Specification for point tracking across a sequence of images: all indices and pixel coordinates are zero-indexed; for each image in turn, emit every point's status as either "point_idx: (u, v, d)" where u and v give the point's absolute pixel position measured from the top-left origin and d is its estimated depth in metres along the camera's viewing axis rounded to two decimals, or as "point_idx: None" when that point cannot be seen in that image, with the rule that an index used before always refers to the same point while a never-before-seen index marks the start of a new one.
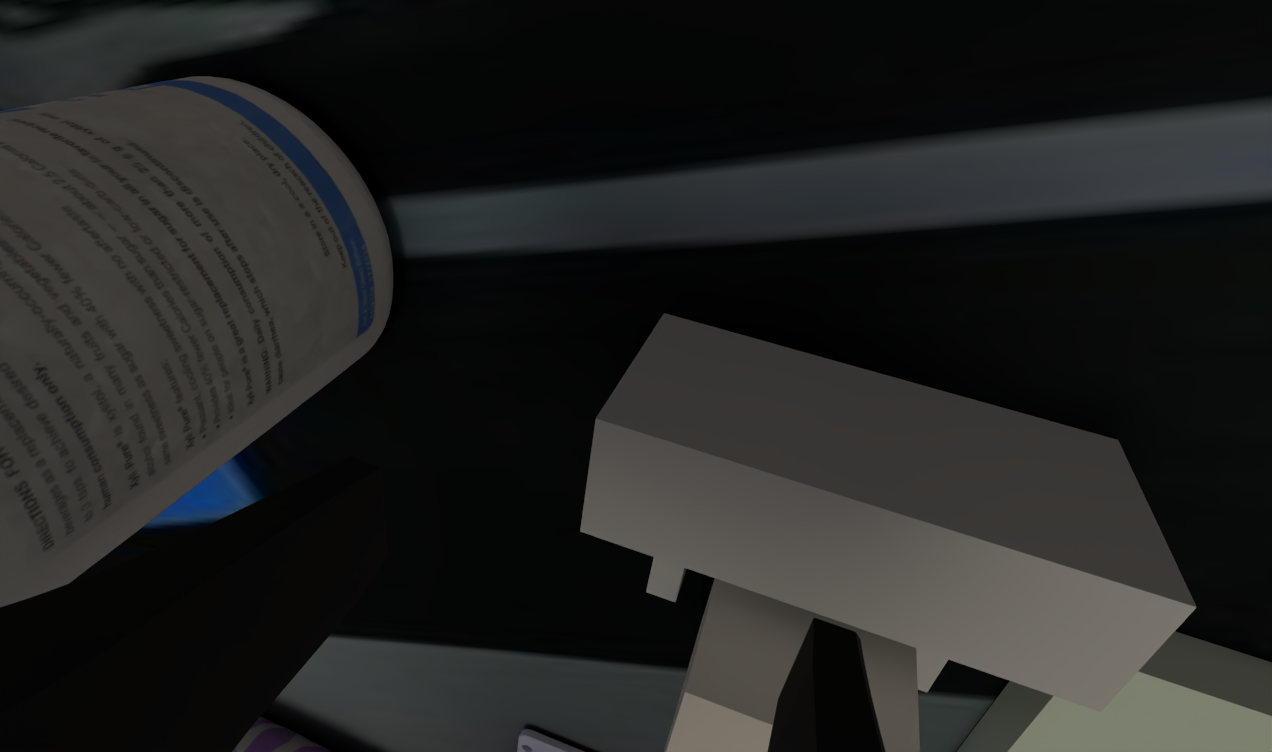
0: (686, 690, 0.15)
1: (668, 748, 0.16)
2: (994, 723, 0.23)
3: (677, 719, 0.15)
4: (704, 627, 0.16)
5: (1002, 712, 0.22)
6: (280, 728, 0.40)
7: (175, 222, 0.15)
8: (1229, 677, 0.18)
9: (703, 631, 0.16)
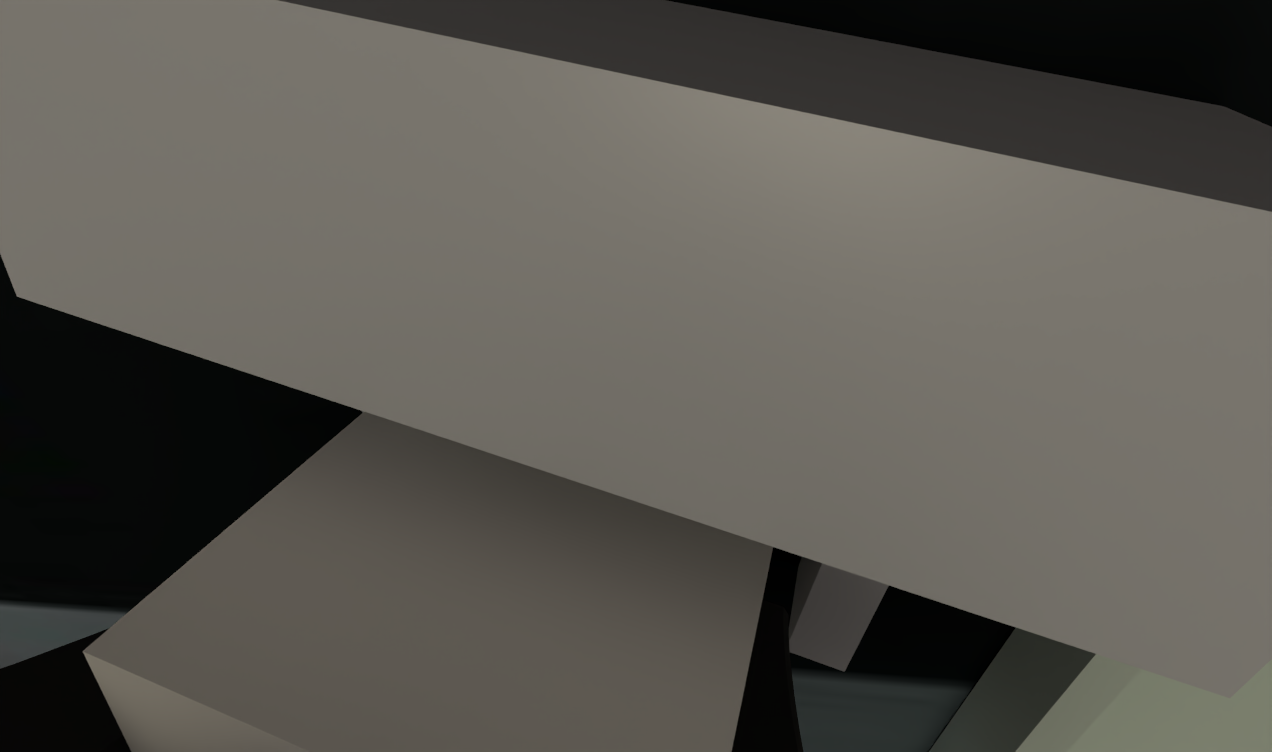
0: (90, 647, 0.05)
1: None
2: (971, 727, 0.13)
3: (123, 726, 0.06)
4: (255, 506, 0.07)
5: (983, 709, 0.13)
6: None
7: None
8: None
9: (246, 513, 0.07)
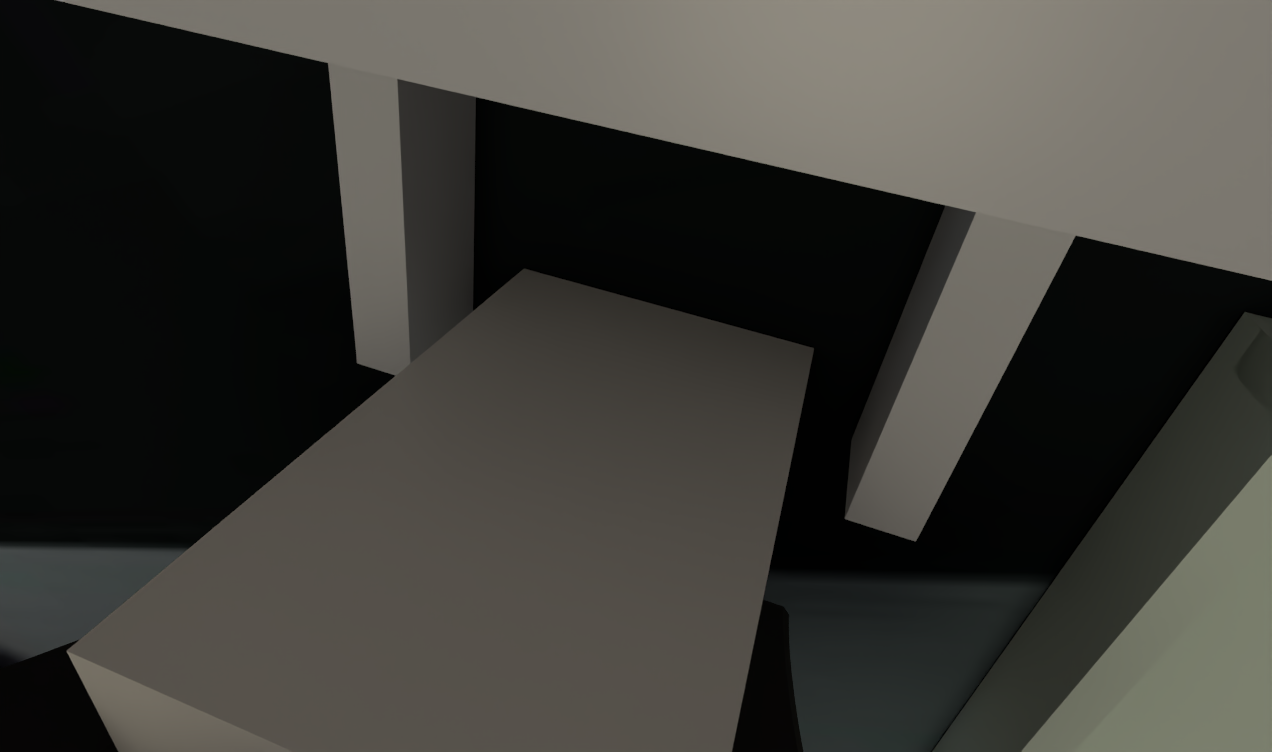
0: (74, 647, 0.05)
1: None
2: (1052, 624, 0.11)
3: (110, 728, 0.06)
4: (246, 502, 0.07)
5: (1069, 600, 0.11)
6: None
7: None
8: None
9: (237, 510, 0.07)
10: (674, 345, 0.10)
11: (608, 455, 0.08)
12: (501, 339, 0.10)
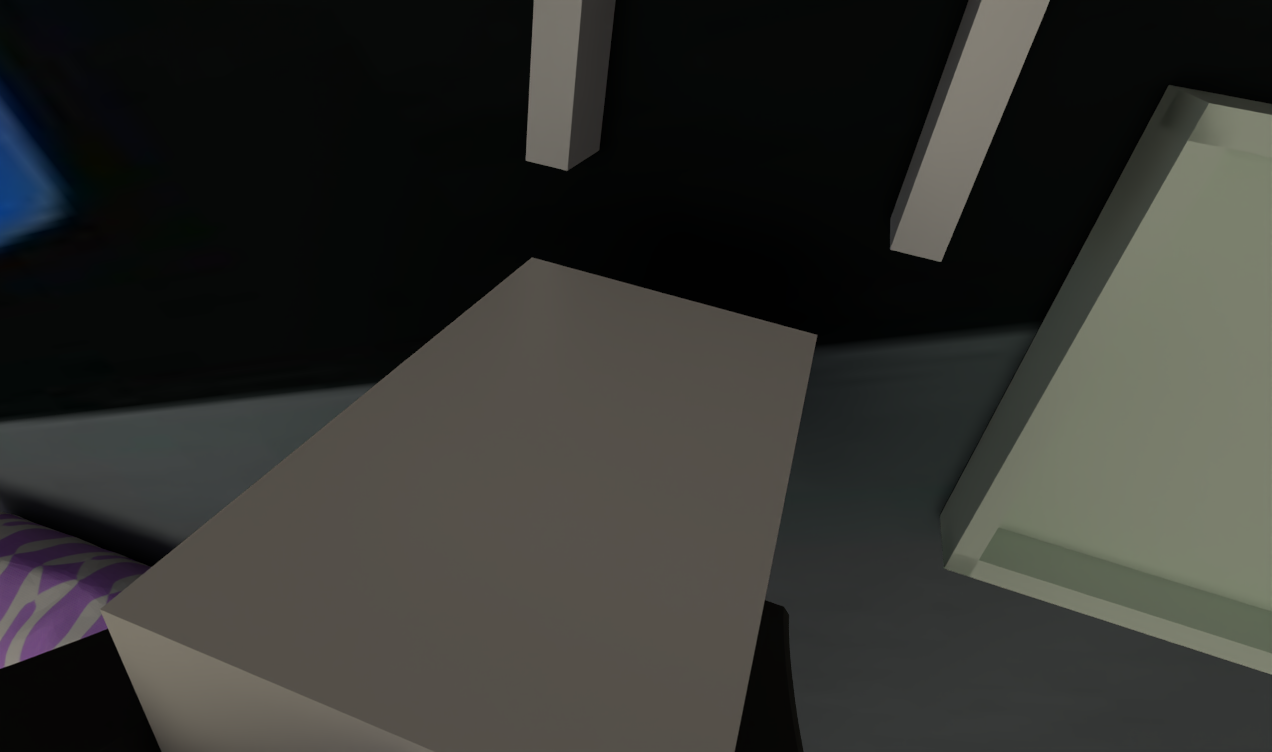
0: (107, 606, 0.05)
1: None
2: (1039, 352, 0.15)
3: (138, 689, 0.06)
4: (268, 474, 0.07)
5: (1051, 328, 0.15)
6: (146, 565, 0.33)
7: None
8: None
9: (259, 481, 0.07)
10: (679, 332, 0.11)
11: (619, 432, 0.08)
12: (511, 324, 0.10)
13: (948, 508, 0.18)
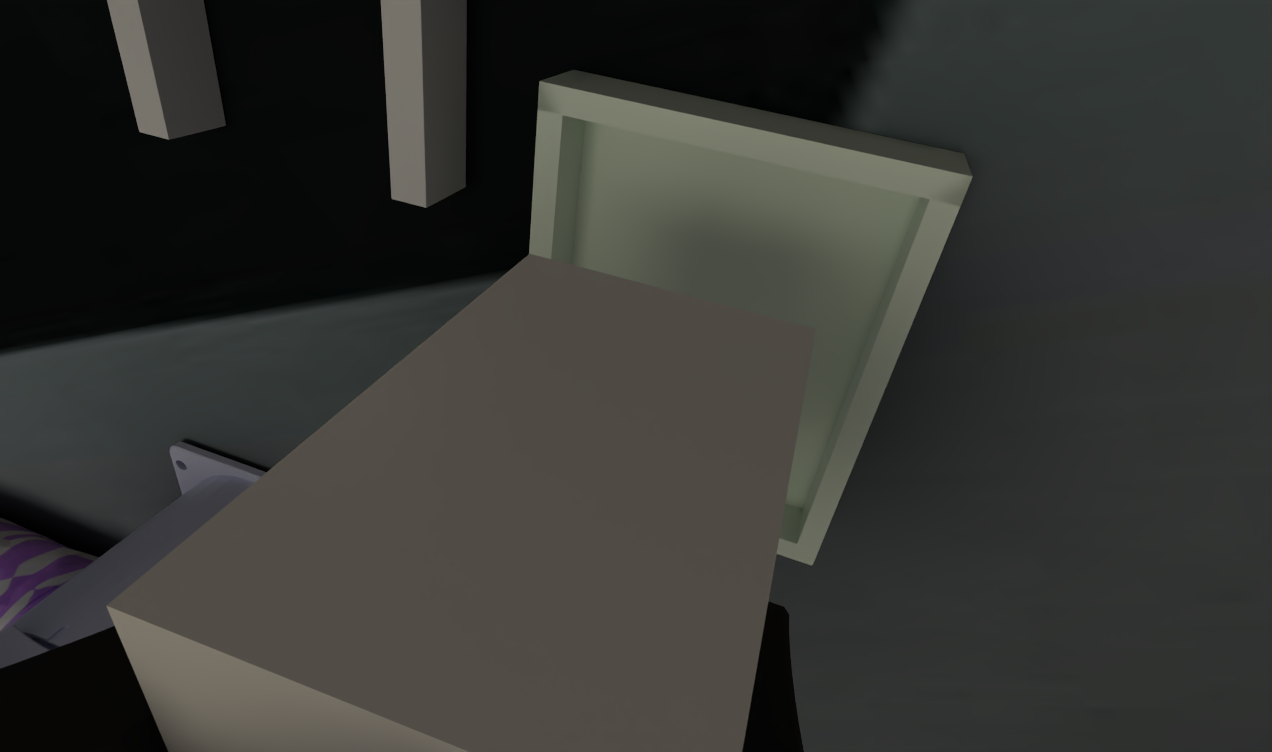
0: (113, 602, 0.05)
1: None
2: None
3: (144, 685, 0.06)
4: (271, 470, 0.07)
5: None
6: None
7: None
8: (713, 110, 0.15)
9: (262, 477, 0.07)
10: (679, 325, 0.11)
11: (620, 426, 0.08)
12: (511, 319, 0.10)
13: None
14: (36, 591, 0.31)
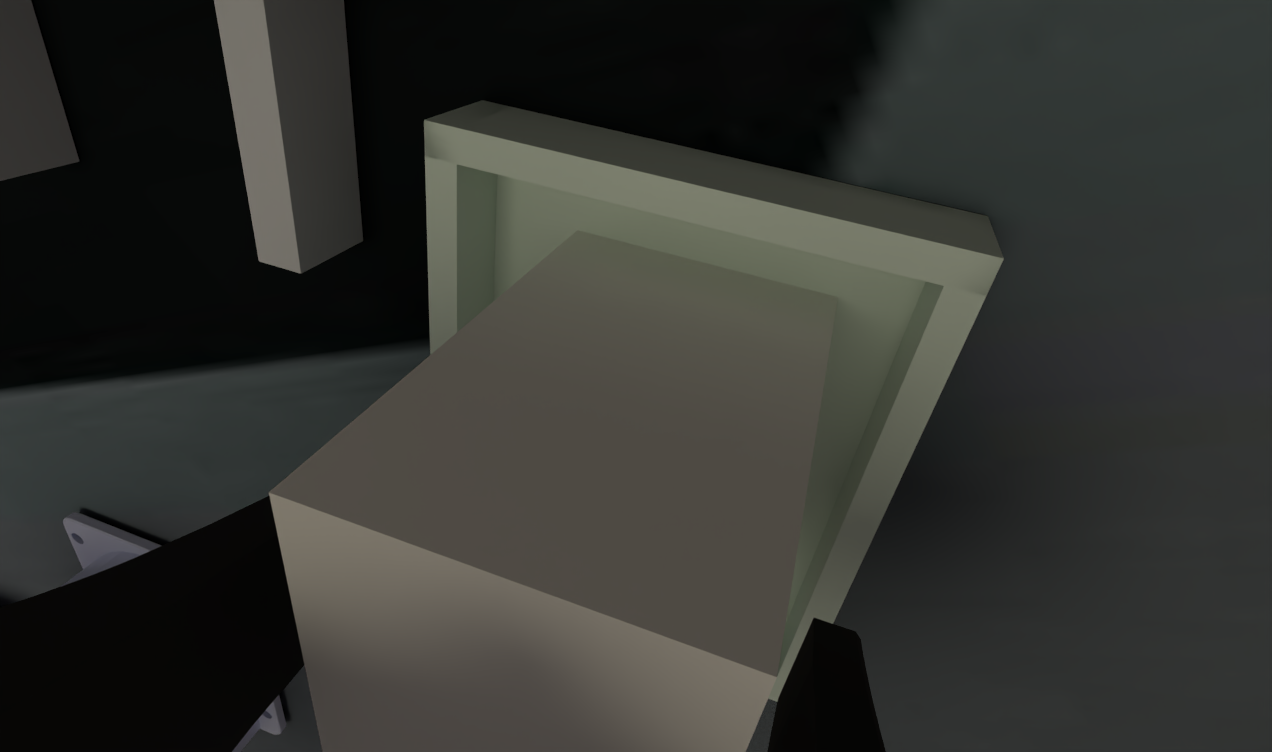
0: (274, 490, 0.07)
1: (301, 639, 0.08)
2: None
3: (287, 568, 0.07)
4: (381, 398, 0.08)
5: None
6: None
7: None
8: (655, 158, 0.11)
9: (375, 403, 0.08)
10: (715, 293, 0.12)
11: (671, 372, 0.09)
12: (567, 284, 0.11)
13: None
14: None
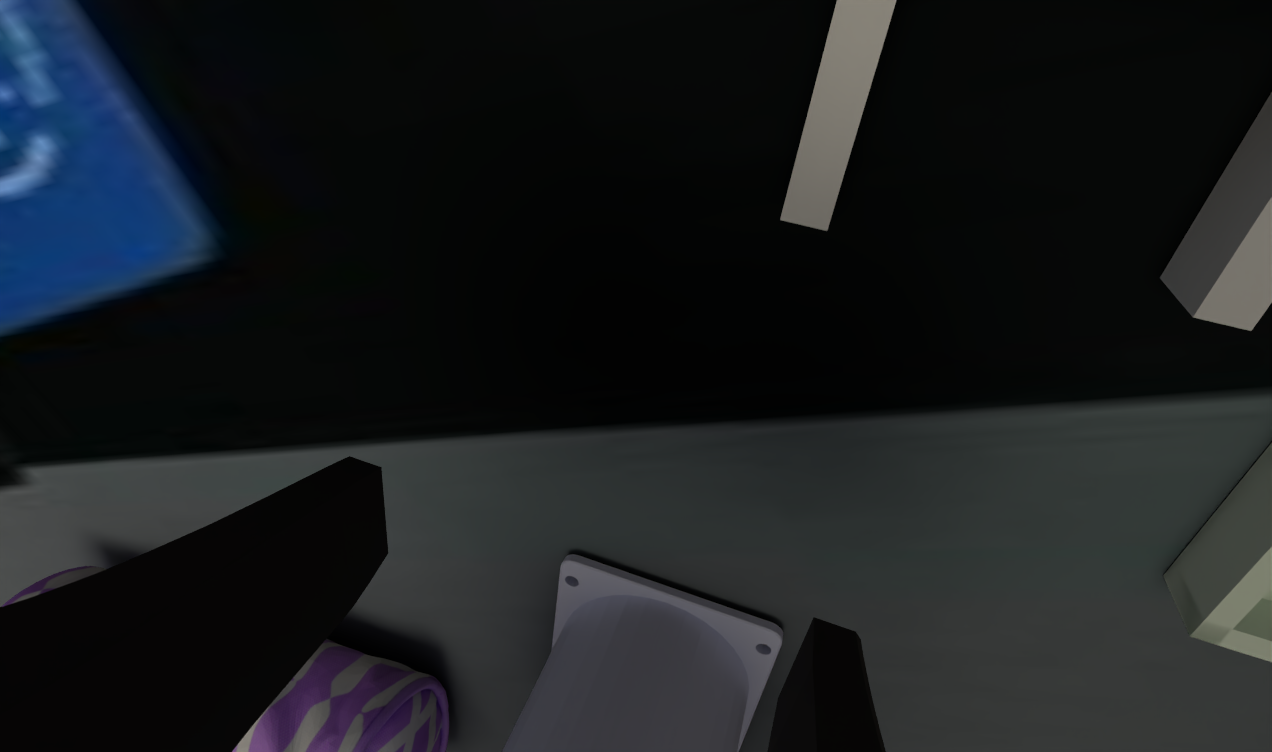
0: None
1: None
2: None
3: None
4: None
5: None
6: None
7: None
8: None
9: None
10: None
11: None
12: None
13: (1179, 569, 0.18)
14: (365, 716, 0.27)
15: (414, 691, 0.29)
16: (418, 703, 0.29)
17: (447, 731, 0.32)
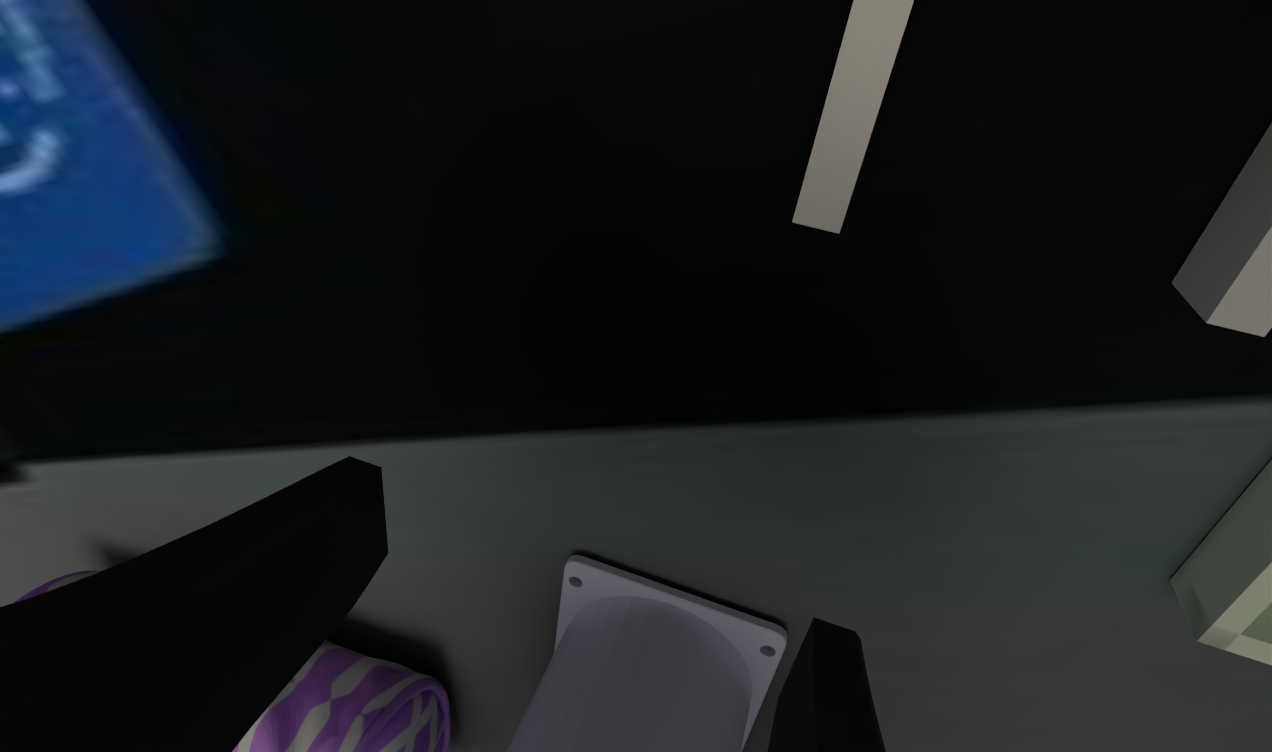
0: None
1: None
2: None
3: None
4: None
5: None
6: None
7: None
8: None
9: None
10: None
11: None
12: None
13: (1186, 574, 0.18)
14: (365, 717, 0.27)
15: (414, 692, 0.29)
16: (418, 705, 0.29)
17: (449, 733, 0.32)
